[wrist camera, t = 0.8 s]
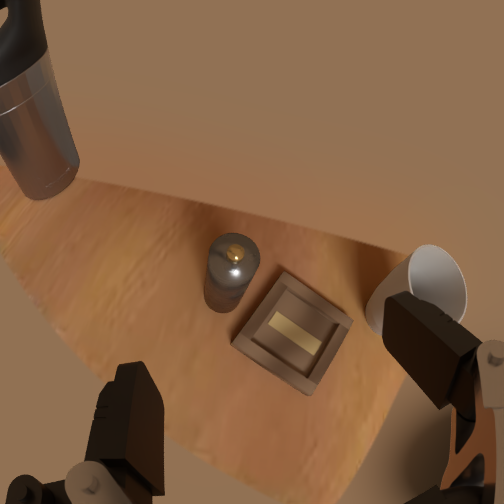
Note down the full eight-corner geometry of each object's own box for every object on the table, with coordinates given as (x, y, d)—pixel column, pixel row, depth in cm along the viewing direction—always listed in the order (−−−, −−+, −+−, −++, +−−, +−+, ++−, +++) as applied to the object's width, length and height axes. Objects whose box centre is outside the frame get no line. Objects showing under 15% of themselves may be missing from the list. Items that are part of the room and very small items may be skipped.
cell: (196, 298, 28) (198, 255, 20) (218, 271, 30) (230, 219, 21) (226, 320, 28) (242, 287, 19) (247, 292, 30) (271, 248, 21)
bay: (230, 344, 27) (232, 342, 26) (280, 275, 31) (284, 270, 30) (306, 395, 26) (311, 395, 25) (347, 323, 30) (353, 320, 29)
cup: (417, 331, 31) (476, 307, 22) (370, 360, 29) (432, 344, 20) (391, 273, 34) (443, 236, 25) (342, 294, 31) (394, 257, 23)
